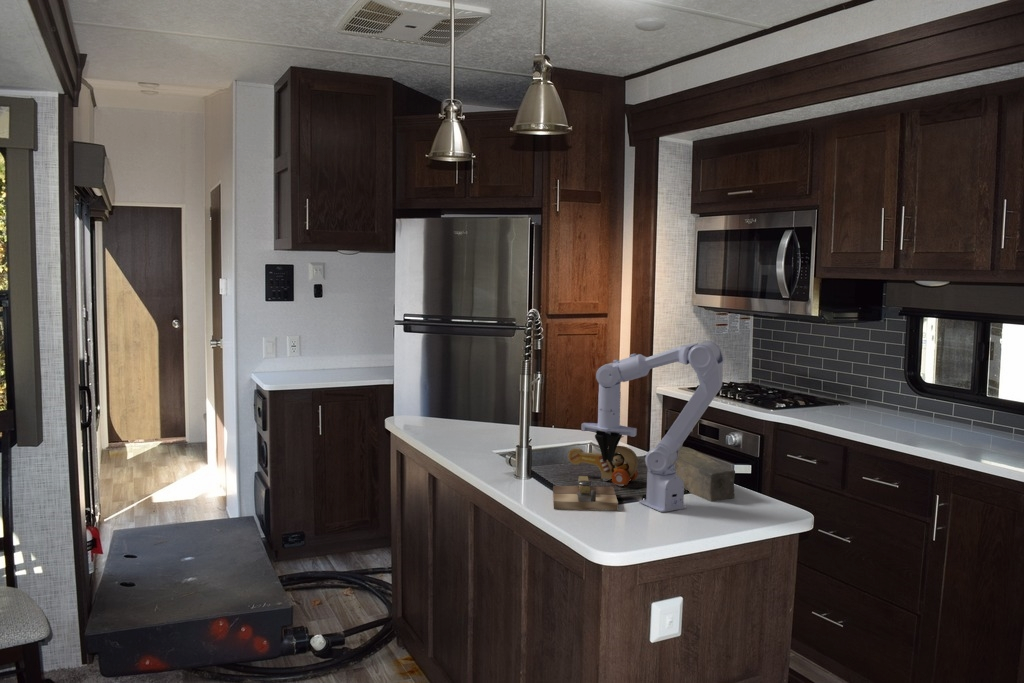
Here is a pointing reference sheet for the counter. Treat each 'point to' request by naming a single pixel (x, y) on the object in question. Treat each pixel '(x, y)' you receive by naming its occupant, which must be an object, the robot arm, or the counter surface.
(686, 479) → the weathered wooden bar
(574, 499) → the lock board
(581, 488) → the swing bar
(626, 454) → the toy helicopter
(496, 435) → the counter surface
